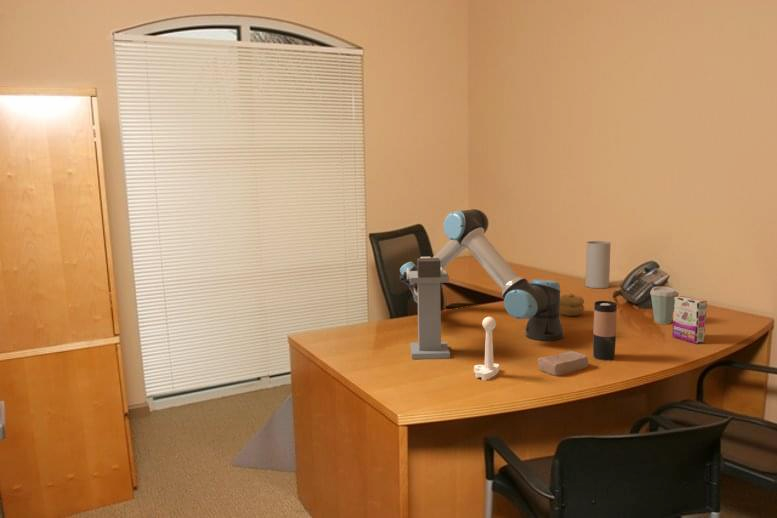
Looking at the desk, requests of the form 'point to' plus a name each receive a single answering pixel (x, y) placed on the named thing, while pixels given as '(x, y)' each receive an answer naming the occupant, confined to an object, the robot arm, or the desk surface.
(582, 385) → the desk surface
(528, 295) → the robot arm
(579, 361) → the brick
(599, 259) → the cylinder vase
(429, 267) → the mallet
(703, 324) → the candy bar box
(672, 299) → the disposable coffee cup
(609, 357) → the travel mug
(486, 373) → the joystick
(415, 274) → the stand
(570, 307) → the brown round lump
